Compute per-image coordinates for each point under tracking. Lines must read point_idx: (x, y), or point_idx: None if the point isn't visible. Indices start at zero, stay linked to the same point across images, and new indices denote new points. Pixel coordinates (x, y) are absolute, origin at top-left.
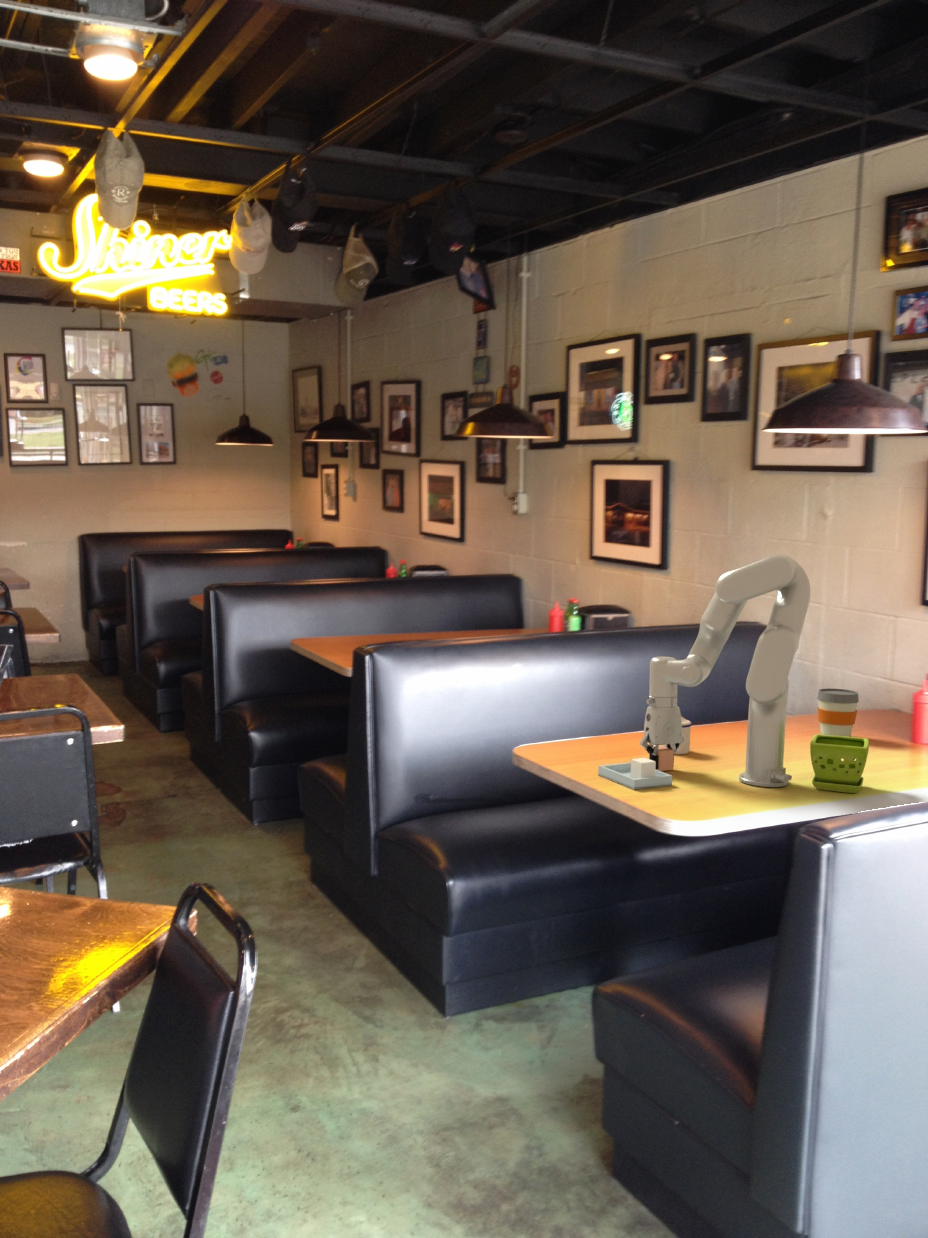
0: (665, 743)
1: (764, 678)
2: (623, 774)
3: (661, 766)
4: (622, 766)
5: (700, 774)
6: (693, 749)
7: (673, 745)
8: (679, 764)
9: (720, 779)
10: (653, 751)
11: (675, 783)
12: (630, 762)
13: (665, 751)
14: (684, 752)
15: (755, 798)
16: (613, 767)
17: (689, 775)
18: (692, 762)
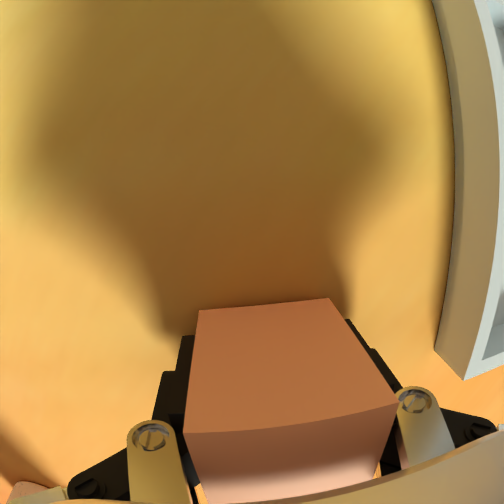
0: (392, 483)
1: None
2: None
3: (324, 317)
4: None
5: (53, 162)
6: (4, 489)
7: (158, 493)
8: (84, 413)
9: (27, 24)
10: (440, 412)
11: (388, 10)
12: (489, 369)
13: (322, 413)
14: (31, 486)
15: None
16: None
17: (144, 152)
18: (17, 409)
